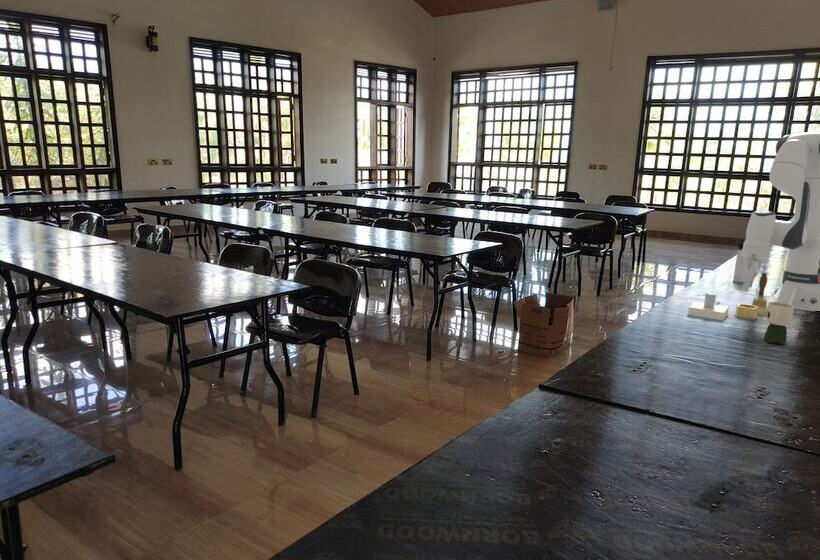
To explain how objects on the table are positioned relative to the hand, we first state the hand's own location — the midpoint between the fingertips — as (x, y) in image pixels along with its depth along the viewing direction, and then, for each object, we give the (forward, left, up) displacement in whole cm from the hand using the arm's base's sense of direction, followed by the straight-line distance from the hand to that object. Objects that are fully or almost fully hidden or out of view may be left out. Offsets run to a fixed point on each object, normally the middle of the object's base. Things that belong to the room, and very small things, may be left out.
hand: (747, 289), depth 221 cm
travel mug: (+10, -74, -11) cm, 76 cm away
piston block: (+11, +8, -11) cm, 17 cm away
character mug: (-13, +33, -11) cm, 37 cm away
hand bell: (-4, -11, -11) cm, 16 cm away
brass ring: (-1, 0, -11) cm, 11 cm away
